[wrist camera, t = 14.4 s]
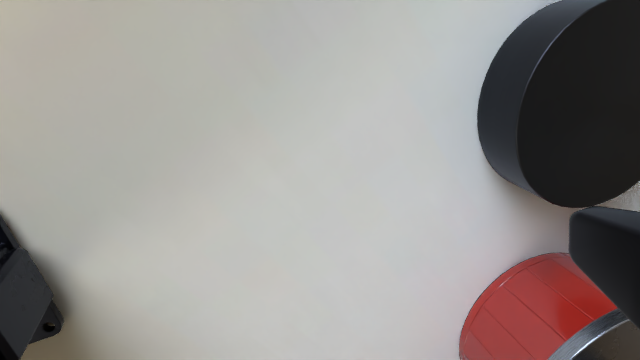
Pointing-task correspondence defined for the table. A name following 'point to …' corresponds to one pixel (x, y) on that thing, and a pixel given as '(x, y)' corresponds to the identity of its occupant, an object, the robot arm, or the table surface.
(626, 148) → the stand
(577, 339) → the lid
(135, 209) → the table surface
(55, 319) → the robot arm
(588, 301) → the red faceted pot
